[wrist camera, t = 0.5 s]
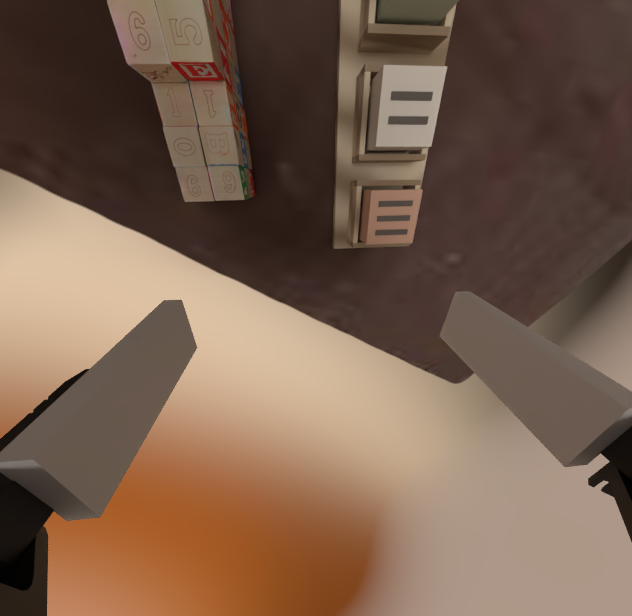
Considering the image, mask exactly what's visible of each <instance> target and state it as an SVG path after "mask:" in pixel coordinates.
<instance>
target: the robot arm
mask: <svg viewBox="0 0 632 616" xmlns="http://www.w3.org/2000/svg"><path fill="white" fill-rule="evenodd" d="M440 337H441V338H442V339H443V340H444V341H445V342H446V343H447V344H448V345H449V346H450V347H451V349H452V350H453V351H454V352H455V353H456V354H457V355H458V356H459V357H460V358H461V359H462V360H463V361H464V362H465V363H466V364H467V365H468V366H469V367H470V368H471V369H472V371H473V372H474V373H475V374H476V375H477V376H478V377H479V378H480V379H481V380H482V381H483V382H484V383H485V384H486V385H487V386H488V387H489V388H490V389H491V390H492V391H493V392H494V394H496V396H497V397H498V398H499V399H500V400H501V401H502V402H503V403H504V404H505V405H506V406H507V407H508V408H509V409H510V410H511V411H512V412H513V413H514V415H515V416H516V417H517V418H518V419H519V420H520V421H521V422H522V423H523V424H524V425H525V426H526V427H527V428H528V429H529V430H530V431H531V432H532V433H533V434H534V435H535V437H536V438H538V440H540V442H541V443H542V444H543V445H544V446H545V447H546V448H547V449H548V450H549V451H550V452H551V453H552V454H553V455H554V456H555V457H556V459H558V461H559V462H560V463H561V464H562V465H563V466H564V467H570V466H579V465H587V464H588V463H589V462H591V461H592V460H593V459H594V458H595V457H596V456H598V455H599V454H600V453H601V454H602V455H603V456H605V457H606V458H607V459H608V460H609V461H610V462H609V463H608V464H606V465H605V466H604V467H603V468H601V469H600V470H599V471H598V472H596V473H595V474H594V475H592V476H591V477H590V478H589V479H588V483H589V485H590V486H592V487H595V486H596V485H597V484H599V483H600V482H602V481H603V480H604V481H608V482H609V483H608V484H606V485H605V486H604V487H603V488H602V489H601V491H602V492H604V493H606V494H609V495H611V496H613V497H614V498H615V500H616V503H617V505H618V508H619V510H620V513H621V516H622V518H623V521H624V523H625V526H626V528H627V531H628V534H629V536H630V539H631V541H632V392H631V391H630V390H628V389H627V388H625V387H623V386H622V385H620V384H619V383H617V382H615V381H614V380H612V379H610V378H609V377H607V376H606V375H604V374H602V373H601V372H599V371H597V370H596V369H594V368H593V367H591V366H589V365H588V364H586V363H584V362H583V361H581V360H580V359H578V358H576V357H575V356H573V355H572V354H570V353H568V352H567V351H565V350H563V349H562V348H560V347H559V346H557V345H555V344H554V343H552V342H551V341H549V340H547V339H546V338H544V337H542V336H541V335H539V334H537V333H536V332H534V331H533V330H531V329H529V328H528V327H526V326H525V325H523V324H522V323H520V322H518V321H517V320H515V319H513V318H512V317H510V316H509V315H507V314H505V313H504V312H502V311H501V310H499V309H497V308H496V307H494V306H492V305H491V304H489V303H488V302H486V301H484V300H483V299H481V298H480V297H478V296H476V295H475V294H473V293H471V292H470V291H468V292H455V295H454V297H453V300H452V303H451V306H450V309H449V311H448V314H447V317H446V320H445V322H444V325H443V328H442V331H441V334H440ZM196 349H197V346H196V343H195V340H194V337H193V333H192V331H191V327H190V324H189V321H188V318H187V315H186V312H185V308H184V306H183V302H182V300H164V301H163V302H162V303H161V304H159V305H158V306H157V307H156V308H155V309H154V310H153V311H152V312H151V313H150V314H149V315H148V316H147V317H145V319H143V320H142V321H141V322H140V323H139V324H138V325H137V326H136V327H135V328H134V329H133V330H131V331H130V332H129V333H128V334H127V335H126V336H125V337H124V338H123V339H122V340H121V341H120V342H119V343H117V344H116V345H115V346H114V347H113V348H112V349H111V350H110V351H109V352H108V353H107V354H106V355H104V356H103V357H102V358H101V359H100V360H99V361H98V362H97V363H96V364H95V365H94V366H93V367H91V368H90V369H86V370H84V371H82V372H81V373H79V374H77V375H76V376H74V377H72V378H71V379H69V380H68V381H66V382H64V383H63V384H62V385H61V386H60V387H59V388H58V389H57V390H56V391H54V392H53V393H52V394H51V395H50V396H49V397H48V400H44V401H43V402H42V403H41V404H40V405H38V406H37V407H36V408H35V409H34V411H33V413H29V414H28V415H27V416H26V417H25V418H24V419H23V420H21V421H20V422H19V423H18V424H17V425H16V426H15V427H13V428H12V429H11V430H10V431H9V432H8V433H7V434H5V435H4V436H3V437H2V438H1V439H0V616H47V573H48V572H47V571H48V534H47V531H46V528H45V527H43V525H44V524H45V522H46V521H47V519H48V518H49V517H50V515H51V514H52V512H53V511H54V512H56V513H57V514H58V515H60V516H61V517H62V518H64V519H65V520H67V521H71V520H80V519H89V518H98V517H100V516H101V515H102V513H103V511H104V510H105V508H106V506H107V504H108V503H109V501H110V499H111V497H112V496H113V494H114V492H115V490H116V489H117V487H118V485H119V483H120V482H121V480H122V478H123V476H124V475H125V473H126V471H127V469H128V468H129V466H130V464H131V462H132V461H133V459H134V457H135V455H136V454H137V452H138V450H139V448H140V447H141V445H142V443H143V441H144V440H145V438H146V436H147V434H148V433H149V431H150V429H151V427H152V426H153V424H154V422H155V420H156V419H157V417H158V415H159V413H160V412H161V410H162V408H163V406H164V405H165V403H166V401H167V399H168V398H169V396H170V394H171V392H172V391H173V389H174V387H175V385H176V383H177V382H178V380H179V378H180V377H181V375H182V373H183V371H184V370H185V368H186V366H187V365H188V363H189V361H190V359H191V358H192V355H193V354H194V352H195V351H196Z"/></svg>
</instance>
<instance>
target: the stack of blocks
mask: <svg viewBox="0 0 632 616" xmlns="http://www.w3.org/2000/svg"><path fill="white" fill-rule="evenodd" d="M107 4H108V7H109V10H110V13H111V17H112V20H113V23H114V26H115V29H116V32H117V35H118V38H119V41H120V44H121V47H122V50H123V53H124V56H125V59H126V62H127V64H128V65H129V66H131V67H132V68H133V69H135V70H136V71H137V72H138V73H140V74H141V75H142V76H144V77H145V78H146V79H148V80H149V81H150V82H151V85H152V88H153V92H154V96H155V99H156V103H157V106H158V110H159V113H160V117H161V120H162V124H163V131H164V135H165V138H166V142H167V145H168V149H169V152H170V156H171V159H172V163H173V166H174V167H175V169H176V173H177V177H178V180H179V184H180V188H181V191H182V195H183V198H184V201H185V202H202V201H223V200H246V199H249V198H251V197H254V196H255V189H254V182H253V176H252V163H251V155H250V148H249V140H248V132H247V124H246V116H245V111H244V106H243V98H242V90H241V82H240V77H239V69H238V61H237V53H236V46H235V39H234V37H235V33H234V25H233V17H232V9H231V1H230V0H107Z"/></svg>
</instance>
